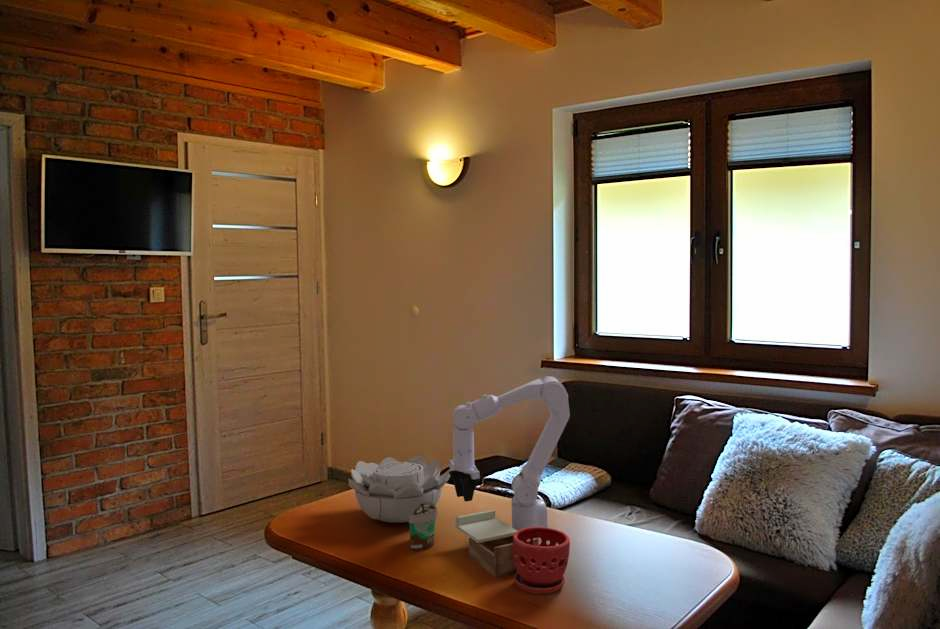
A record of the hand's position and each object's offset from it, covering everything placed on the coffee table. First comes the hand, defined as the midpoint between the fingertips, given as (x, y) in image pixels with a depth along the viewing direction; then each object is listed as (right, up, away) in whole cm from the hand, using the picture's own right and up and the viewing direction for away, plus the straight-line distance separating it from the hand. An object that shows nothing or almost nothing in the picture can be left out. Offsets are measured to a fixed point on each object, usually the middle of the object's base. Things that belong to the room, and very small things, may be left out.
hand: (464, 498), depth 204 cm
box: (+10, -12, -18) cm, 23 cm away
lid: (+6, -6, -11) cm, 13 cm away
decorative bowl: (-20, -10, +16) cm, 28 cm away
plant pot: (+18, -13, -32) cm, 39 cm away
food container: (-10, -11, -6) cm, 16 cm away
